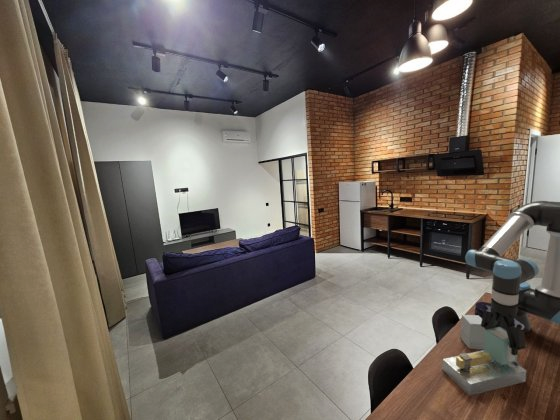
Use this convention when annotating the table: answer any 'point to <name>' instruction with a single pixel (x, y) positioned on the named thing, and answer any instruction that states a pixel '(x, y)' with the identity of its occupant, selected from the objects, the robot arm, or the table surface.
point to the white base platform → (484, 375)
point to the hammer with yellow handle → (472, 360)
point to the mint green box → (497, 344)
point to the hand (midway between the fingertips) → (500, 352)
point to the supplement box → (472, 331)
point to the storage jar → (480, 311)
